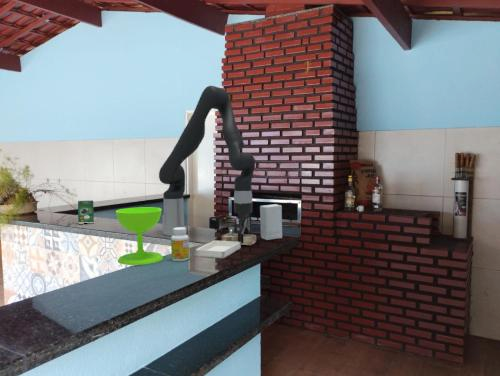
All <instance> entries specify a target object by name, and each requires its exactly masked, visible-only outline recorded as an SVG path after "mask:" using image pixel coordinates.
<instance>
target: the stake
mask: <svg viewBox="0 0 500 376" xmlns="http://www.w3.org/2000/svg"><path fill="white" fill-rule="evenodd" d="M228 233H229V236H234V234H235V226H228Z"/></svg>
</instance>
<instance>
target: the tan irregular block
mask: <svg viewBox="0 0 500 376" xmlns="http://www.w3.org/2000/svg"><path fill="white" fill-rule="evenodd" d="M221 241H234V242H238V234H237V233H234V236H229V232H227V233H225V234H223V235H221ZM255 243H257V235H256V234H249V235H247V234H244V233H243V243H241V246H243V245H244V246H245V245H246V246H252V245H254V244H255Z"/></svg>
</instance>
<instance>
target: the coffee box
mask: <svg viewBox="0 0 500 376" xmlns="http://www.w3.org/2000/svg"><path fill="white" fill-rule="evenodd" d="M94 213H95V212H94V200H78V201H77V217H78V219H77V221H78V222H95V220H94ZM78 222H77V223H78Z"/></svg>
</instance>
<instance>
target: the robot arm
mask: <svg viewBox="0 0 500 376" xmlns="http://www.w3.org/2000/svg"><path fill="white" fill-rule="evenodd" d="M212 109H214V110H217V111H218V113H219V114H220V117H221V120H222V129H221V132H222V137H223V140H224V142H225V145H226V147H227V152H228V160H229V164H230V166H231V168H232V169H233V170H234V171H241V173H240V175H238V176H236V177H234V182H233V184H234V195H233V211H234V214H237V218H234V227H235V229H234V234H238V242H241V243H243V234H247V235H250V230H251V229H252V214H251V213H253V192H252V179H253V176H254V171H255V168H256V160H255V157H254V155H253V154H252V153H248V152H241V151H242V149H243V148H244V147H245V142H244V139H243V138H242V135H241V132H240V130H239V128H238V125H237V123H236V119H235V114H234V110H233V106H232V103H231V98H230V95H229V93H228V91H227V90H226V89H225V88H221V87H218V86H215V85H208V86H206V87H205V88H204V89H203V91H202V92H201V94H200V96H199V99H198V101H197V103H196V107H195V108H194V111H193V113H192V115H191V117H190V119H189V120H188V122H187V124H186V126H185V128H183V131H182V132H181V135H180V137H179V138H178V140H177V142H176V144H175V146H174V147H173V149H172V151H171V152H170V153H169V155H168V157H167V158H166V160H165V161H164V163H163V164H162V165H161V167H160V169H159V172H158V179H159V181H160V182H161V183H162V184H165V185H169V187H168V188H167V190H165V191H164V192H163V197H162V198H163V214H161V217H162V235H163V234H164V235H163V236H168V237H169V236H171V237H172V236H173V235H174V233H173V228H177V227H185V216H184V215H185V211H184V209H185V208H184V205H185V204H184V194H185V192H186V190H185V189H186V173H185V169H184V167H183V165H182V163H184V162H185V160H186V159H187V158H189V157H190V156H191V155H193V153H195V151H197V150H198V148H199V147H200V145H201V143H202V141H203V139H204V138H205V134H206V119H207V117H208V115H209V114H210V112H211V110H212ZM240 150H241V151H240Z"/></svg>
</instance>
